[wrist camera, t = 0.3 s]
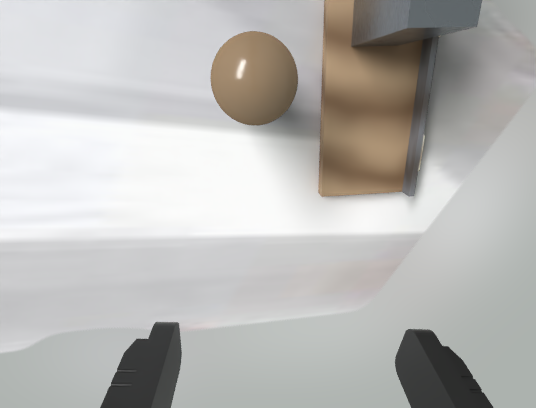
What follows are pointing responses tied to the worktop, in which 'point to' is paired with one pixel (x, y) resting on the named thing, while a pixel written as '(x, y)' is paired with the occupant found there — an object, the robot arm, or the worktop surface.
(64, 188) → the worktop surface
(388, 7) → the tea tin
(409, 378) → the robot arm
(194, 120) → the worktop surface
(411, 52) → the shelf
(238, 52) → the jar
